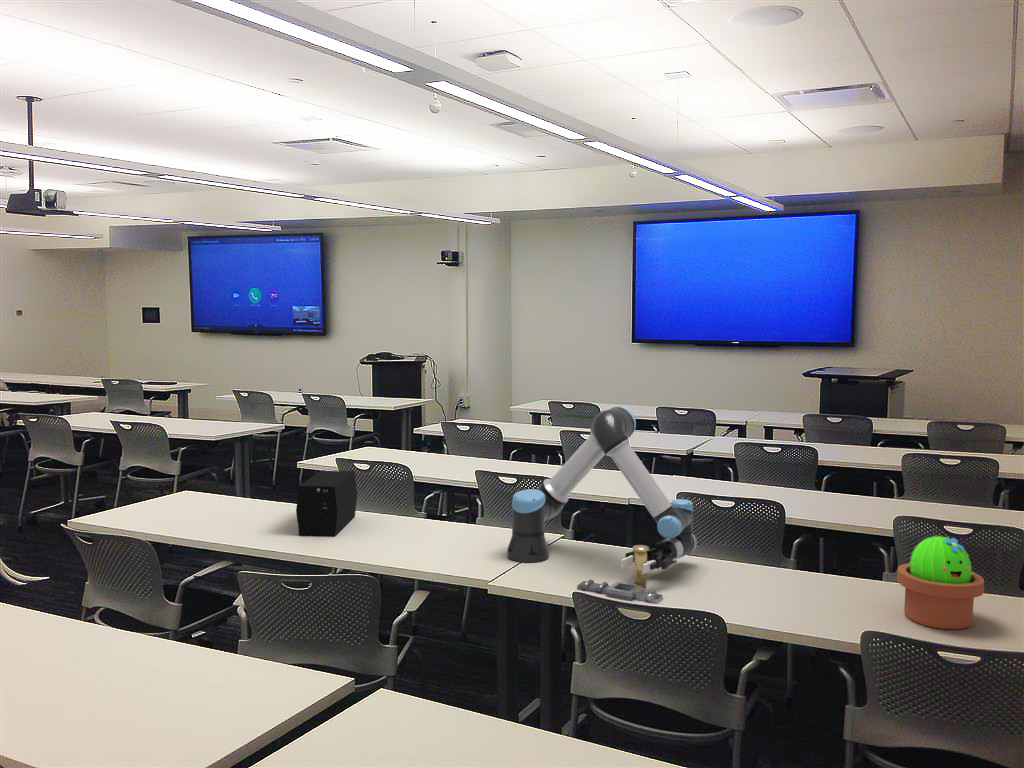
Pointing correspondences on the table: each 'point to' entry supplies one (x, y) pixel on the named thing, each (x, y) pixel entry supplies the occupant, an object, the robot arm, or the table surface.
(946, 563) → the potted cactus
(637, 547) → the brass pin
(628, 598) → the chain end left
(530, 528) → the robot arm
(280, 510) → the table surface
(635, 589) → the chain end right
